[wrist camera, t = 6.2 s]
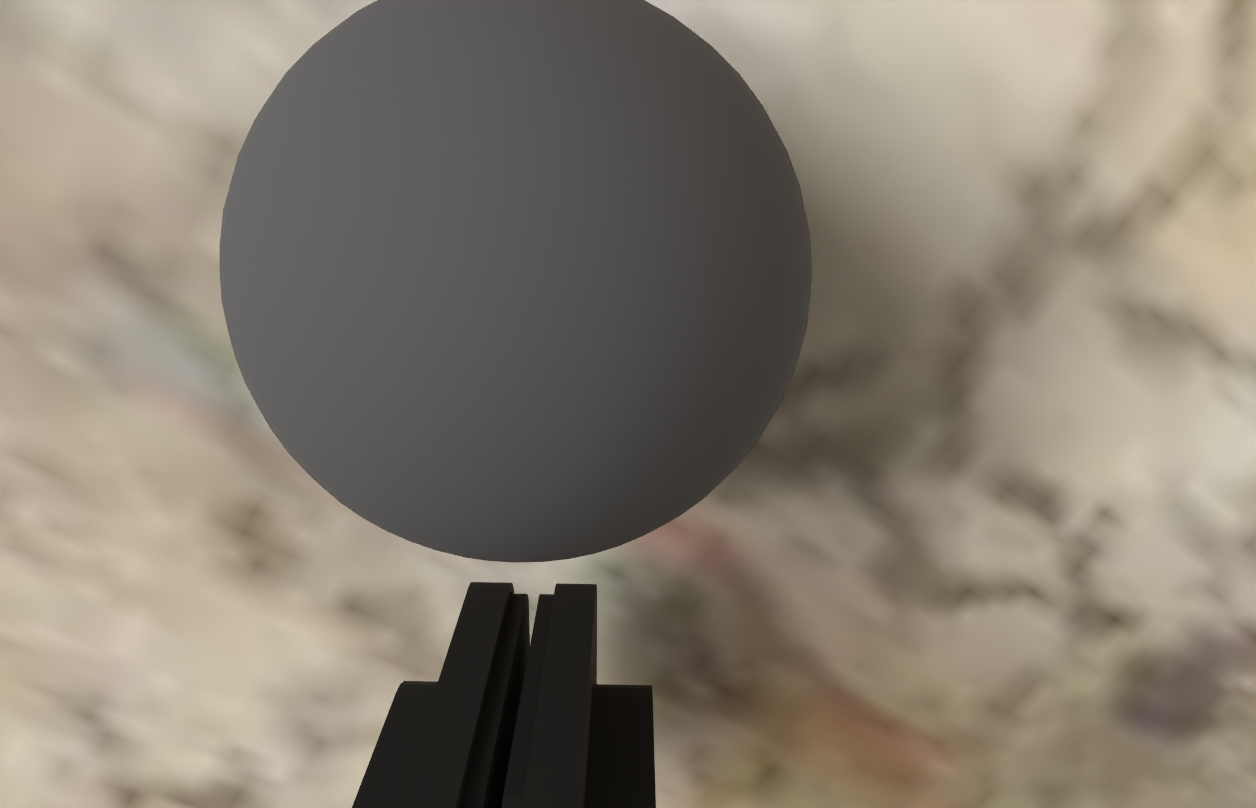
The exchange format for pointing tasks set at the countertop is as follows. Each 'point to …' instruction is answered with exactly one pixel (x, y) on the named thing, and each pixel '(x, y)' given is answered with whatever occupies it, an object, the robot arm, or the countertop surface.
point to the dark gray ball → (515, 271)
